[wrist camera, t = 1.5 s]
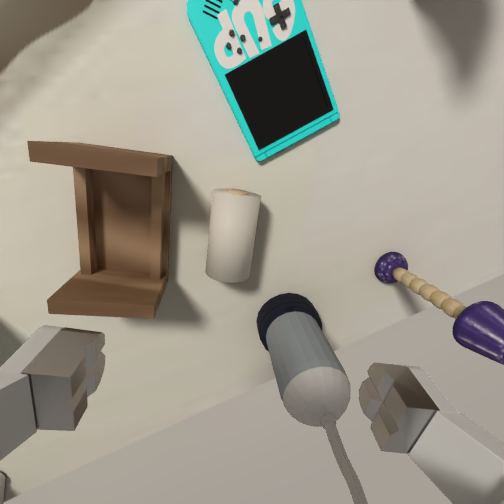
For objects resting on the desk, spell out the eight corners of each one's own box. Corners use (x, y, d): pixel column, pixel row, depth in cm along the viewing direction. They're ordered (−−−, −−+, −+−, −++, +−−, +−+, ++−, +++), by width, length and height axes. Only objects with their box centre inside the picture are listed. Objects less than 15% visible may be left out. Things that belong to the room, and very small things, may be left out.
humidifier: (265, 352, 39) (338, 649, 16) (249, 304, 36) (309, 584, 13) (320, 334, 39) (472, 604, 16) (309, 285, 36) (474, 530, 13)
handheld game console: (277, -64, 24) (280, -75, 23) (339, 118, 30) (344, 117, 29) (176, -5, 25) (174, -13, 24) (256, 163, 31) (258, 163, 29)
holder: (167, 280, 34) (154, 318, 26) (87, 275, 32) (48, 313, 25) (172, 155, 29) (157, 158, 21) (78, 142, 27) (27, 141, 20)
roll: (243, 266, 35) (254, 284, 30) (202, 265, 33) (208, 285, 29) (253, 189, 32) (268, 197, 27) (209, 184, 30) (217, 192, 26)
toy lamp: (404, 244, 36) (548, 318, 20) (412, 273, 38) (550, 361, 22) (370, 260, 36) (486, 345, 21) (379, 288, 38) (493, 386, 22)
